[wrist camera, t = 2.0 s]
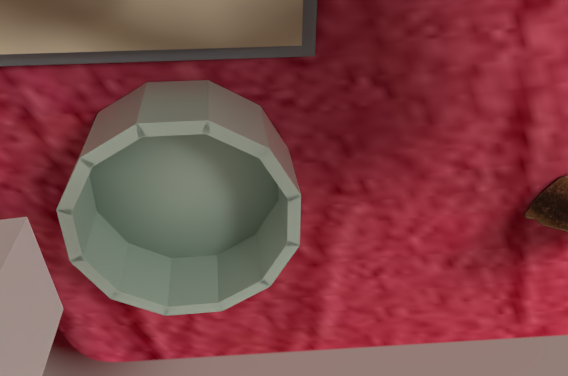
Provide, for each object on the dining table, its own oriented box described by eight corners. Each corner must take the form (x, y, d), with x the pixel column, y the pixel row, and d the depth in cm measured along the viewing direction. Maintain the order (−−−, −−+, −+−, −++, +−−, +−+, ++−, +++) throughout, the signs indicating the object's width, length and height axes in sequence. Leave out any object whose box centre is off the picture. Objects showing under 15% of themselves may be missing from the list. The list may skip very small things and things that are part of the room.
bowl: (60, 84, 33) (34, 127, 28) (289, 76, 34) (303, 115, 29) (100, 263, 40) (85, 322, 35) (286, 250, 42) (298, 304, 37)
